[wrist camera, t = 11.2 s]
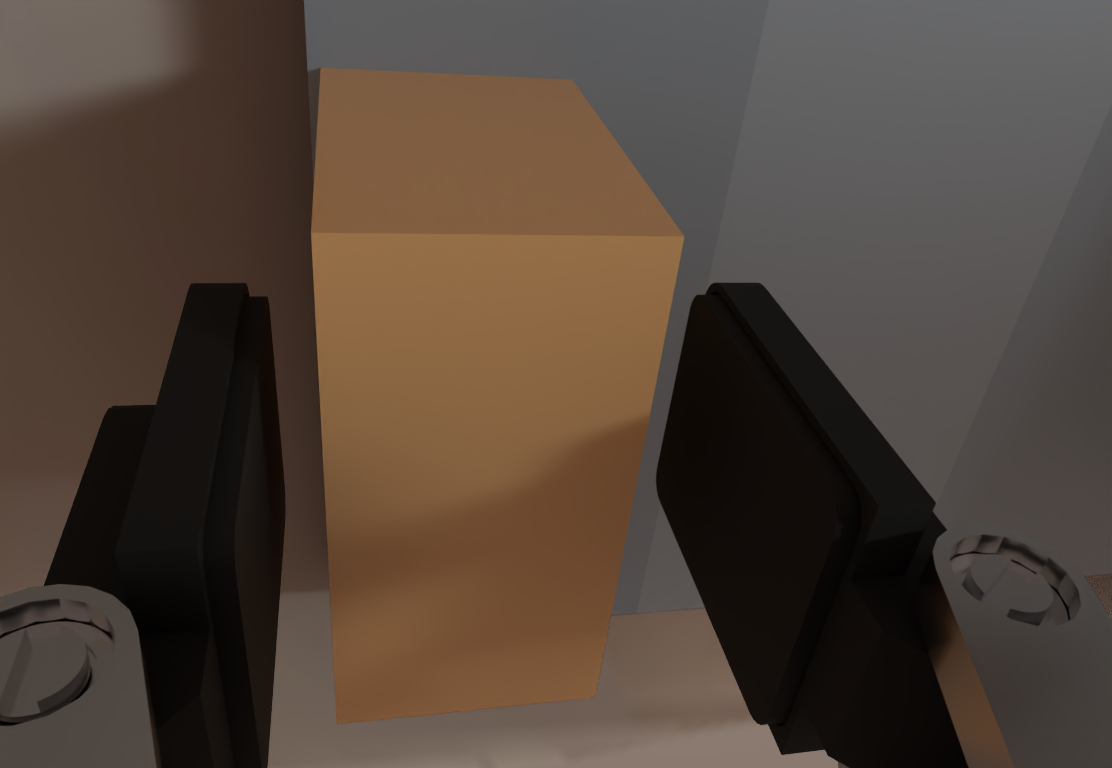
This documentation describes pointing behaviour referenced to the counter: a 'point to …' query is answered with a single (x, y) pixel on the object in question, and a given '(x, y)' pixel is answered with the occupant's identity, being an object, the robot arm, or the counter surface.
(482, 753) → the counter surface
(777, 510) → the robot arm
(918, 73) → the snap lid
